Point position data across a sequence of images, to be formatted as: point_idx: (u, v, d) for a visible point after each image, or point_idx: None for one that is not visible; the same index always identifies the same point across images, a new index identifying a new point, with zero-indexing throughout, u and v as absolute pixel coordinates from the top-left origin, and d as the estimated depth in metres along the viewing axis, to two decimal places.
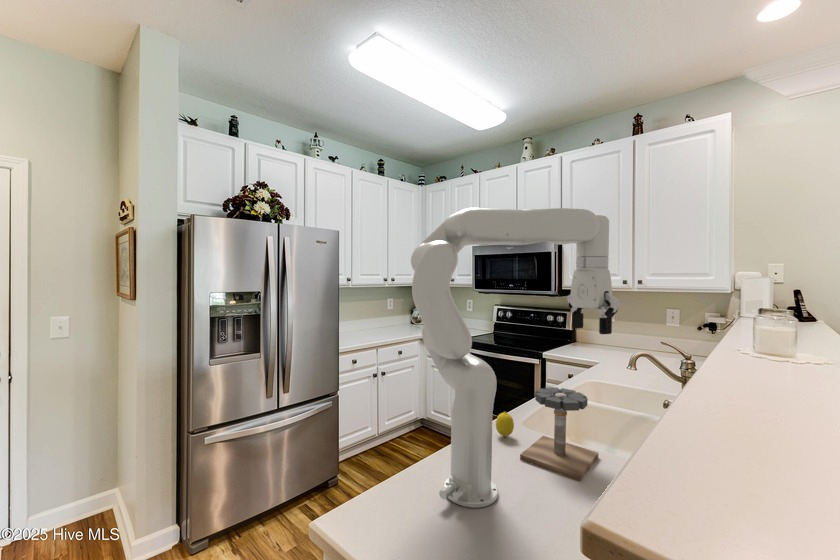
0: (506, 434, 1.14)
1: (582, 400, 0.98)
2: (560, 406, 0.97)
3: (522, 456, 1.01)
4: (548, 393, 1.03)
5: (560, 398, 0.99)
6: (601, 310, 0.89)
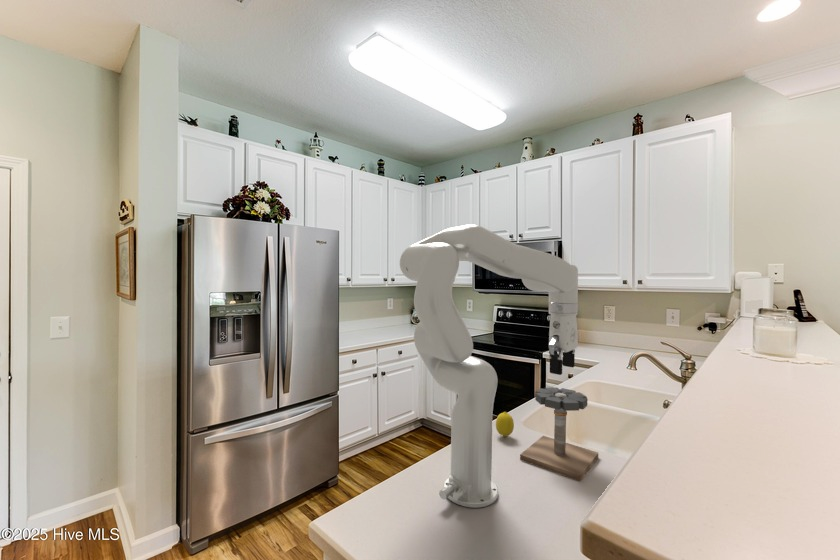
0: (506, 434, 1.14)
1: (582, 400, 0.98)
2: (560, 406, 0.97)
3: (522, 456, 1.01)
4: (548, 393, 1.03)
5: (560, 398, 0.99)
6: None
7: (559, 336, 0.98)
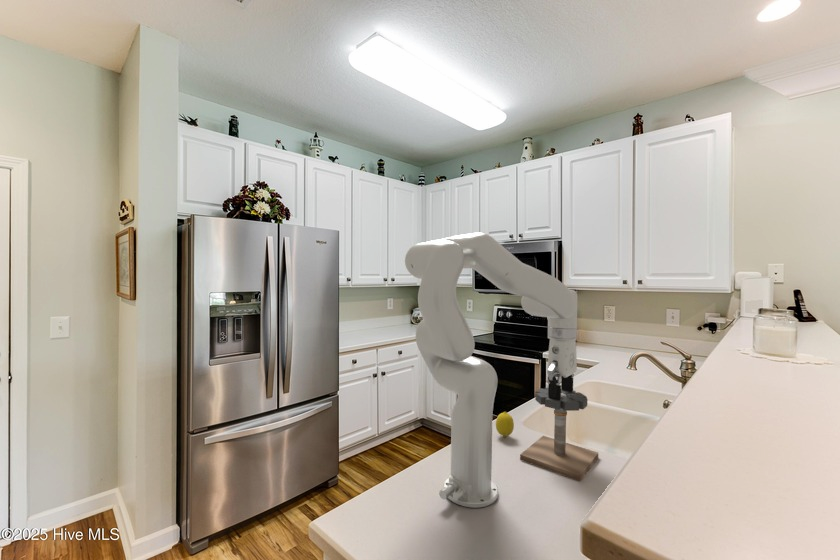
0: (506, 434, 1.14)
1: (582, 400, 0.98)
2: (560, 406, 0.97)
3: (522, 456, 1.01)
4: None
5: None
6: None
7: (558, 361, 0.98)
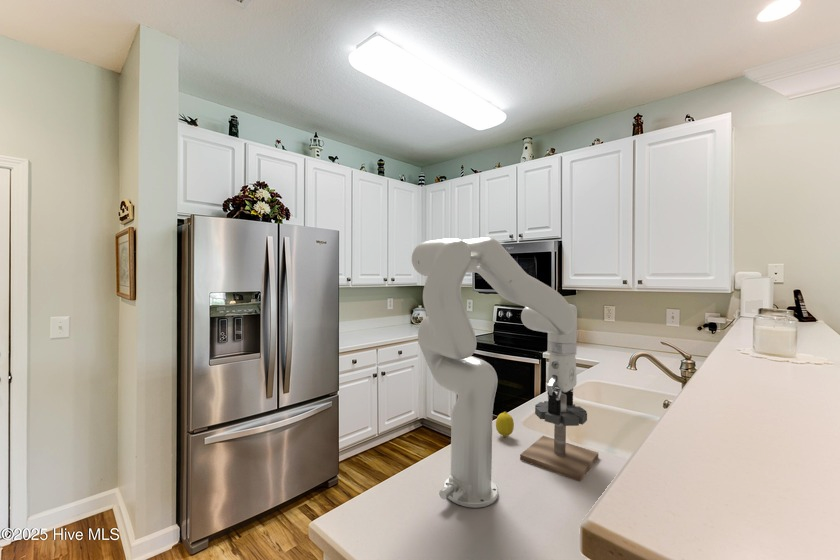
0: (506, 434, 1.14)
1: (582, 415, 0.98)
2: (560, 421, 0.97)
3: (522, 456, 1.01)
4: None
5: None
6: None
7: (558, 376, 0.98)
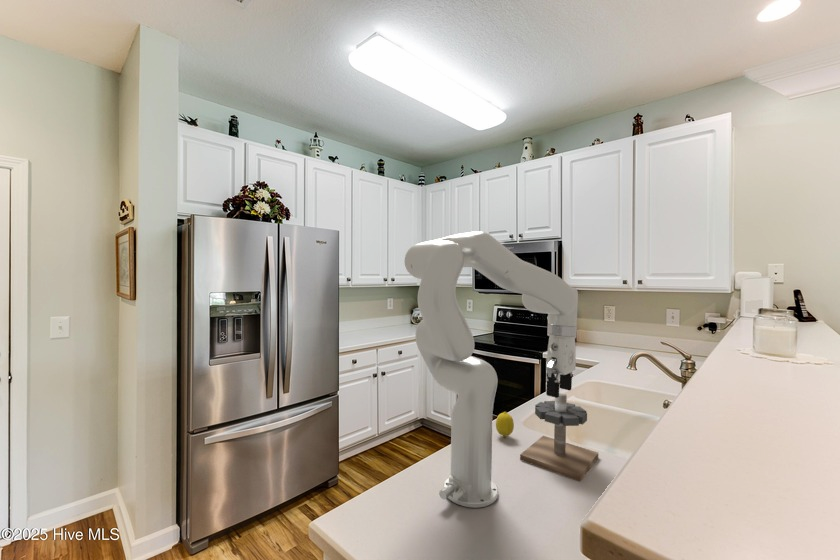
0: (506, 434, 1.14)
1: (582, 415, 0.98)
2: (560, 421, 0.97)
3: (522, 456, 1.01)
4: (548, 408, 1.03)
5: (560, 413, 0.99)
6: None
7: (557, 359, 0.98)
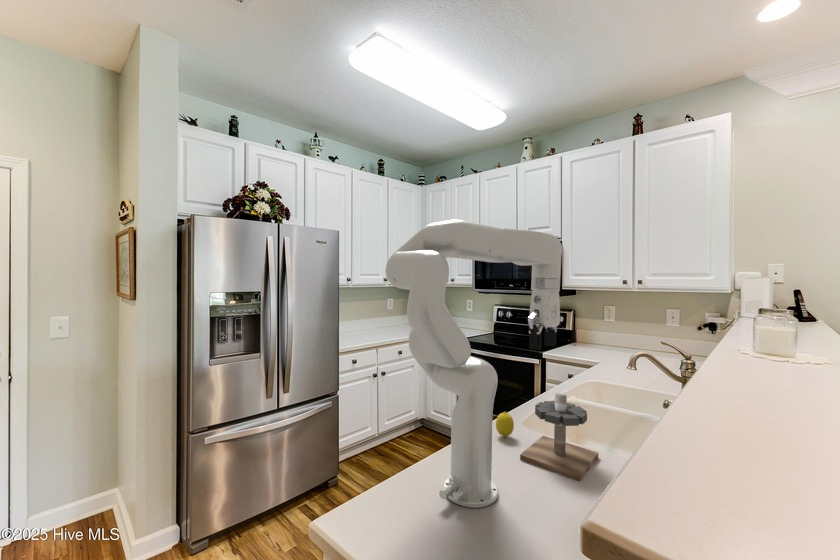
0: (506, 434, 1.14)
1: (582, 415, 0.98)
2: (560, 421, 0.97)
3: (522, 456, 1.01)
4: (548, 408, 1.03)
5: (560, 413, 0.99)
6: None
7: (539, 311, 0.97)
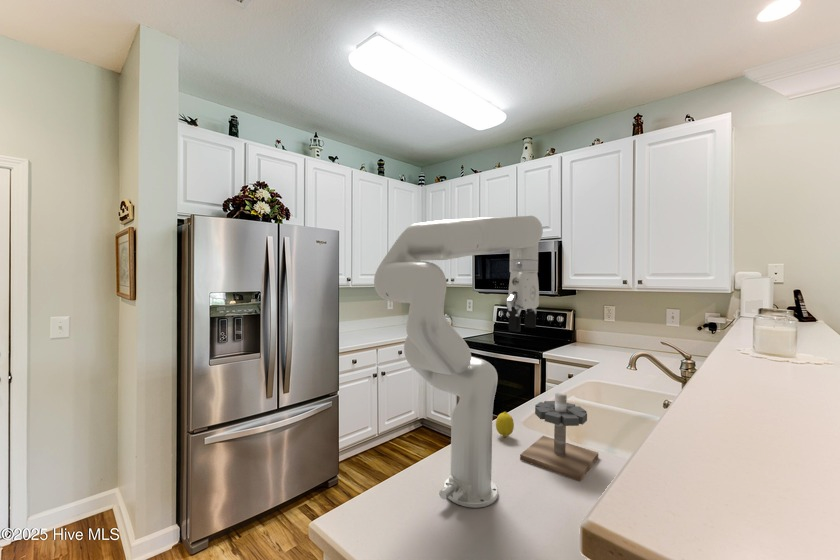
0: (506, 434, 1.14)
1: (582, 415, 0.98)
2: (560, 421, 0.97)
3: (522, 456, 1.01)
4: (548, 408, 1.03)
5: (560, 413, 0.99)
6: (534, 307, 1.04)
7: (518, 292, 0.97)
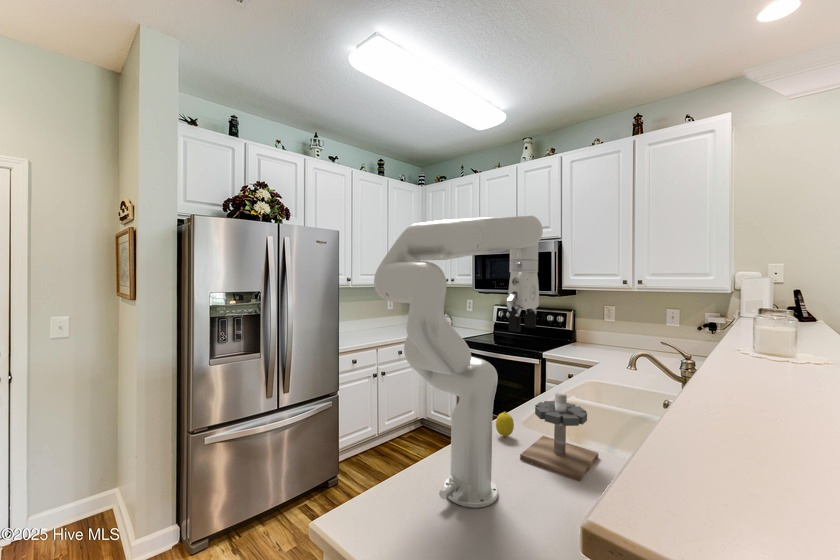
0: (506, 434, 1.14)
1: (582, 415, 0.98)
2: (560, 421, 0.97)
3: (522, 456, 1.01)
4: (548, 408, 1.03)
5: (560, 413, 0.99)
6: (534, 307, 1.04)
7: (518, 292, 0.97)
